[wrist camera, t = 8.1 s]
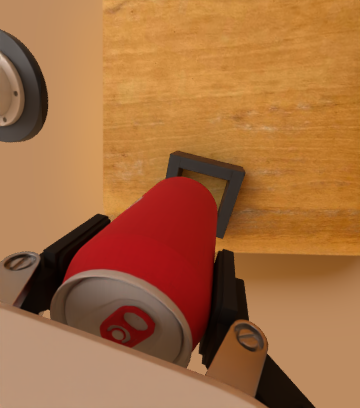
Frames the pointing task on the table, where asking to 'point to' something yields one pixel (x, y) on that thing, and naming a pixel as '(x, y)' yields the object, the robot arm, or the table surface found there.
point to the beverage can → (147, 274)
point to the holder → (214, 169)
